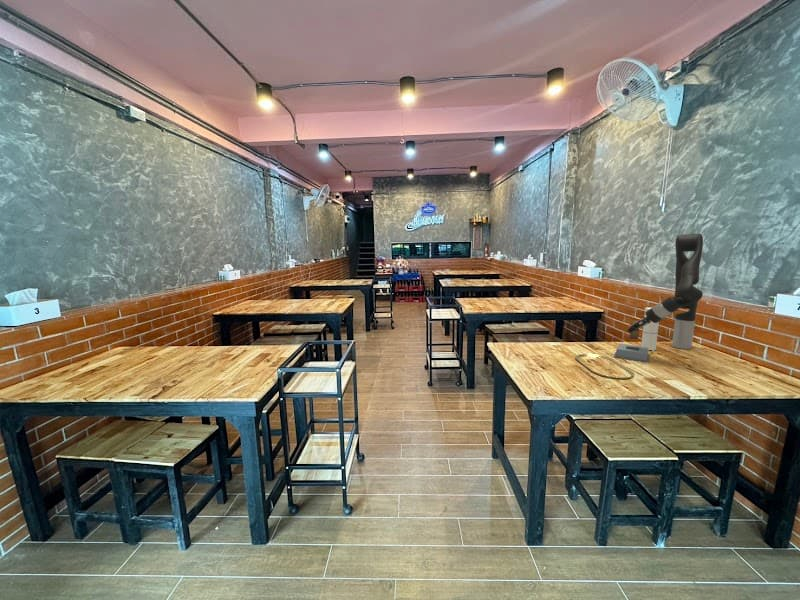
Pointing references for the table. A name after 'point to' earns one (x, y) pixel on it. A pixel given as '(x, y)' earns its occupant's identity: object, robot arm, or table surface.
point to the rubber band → (609, 360)
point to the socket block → (632, 353)
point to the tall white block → (650, 334)
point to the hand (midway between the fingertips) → (630, 330)
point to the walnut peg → (635, 333)
